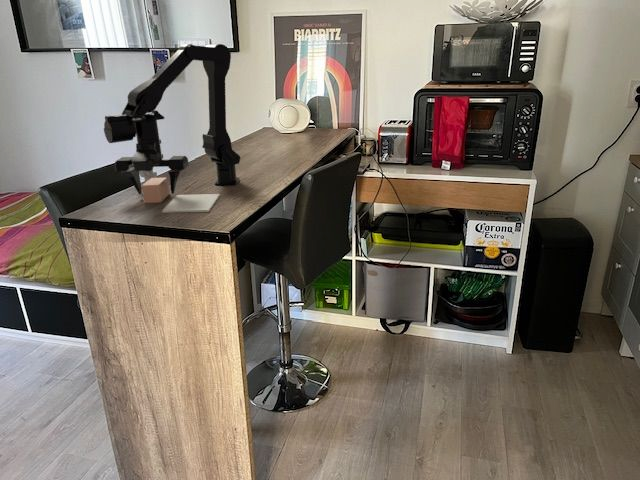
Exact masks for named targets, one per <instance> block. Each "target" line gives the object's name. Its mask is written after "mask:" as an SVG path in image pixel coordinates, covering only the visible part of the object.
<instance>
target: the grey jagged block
mask: <svg viewBox="0 0 640 480" xmlns="http://www.w3.org/2000/svg"><path fill="white" fill-rule="evenodd" d="M139 175H140V178H144V183H146V182H147V181H148V180H149V179H151V178H158V173H157V171H156V170H154V168H153V169H152V170H151V171H139Z"/></svg>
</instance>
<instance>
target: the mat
mask: <svg viewBox="0 0 640 480" xmlns="http://www.w3.org/2000/svg"><path fill="white" fill-rule="evenodd" d="M220 196H221V195H220V193H214V194H213V193H212V194H211V193H206V194H202V193H201V194H199V193H198V194H177V195H176V196H174V198H173V199H172V200H170V202H169V203H168V204H167V205H166V206H165V207H164V208H163V209H162V210H161V213H163V214H164V213H167V214H168V213H170V214H171V213H205V212H206V213H209V212H210V210H212V208H213V206H214V205H215V203H216V202H217V201H218V199H219V198H220Z"/></svg>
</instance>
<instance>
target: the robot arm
mask: <svg viewBox="0 0 640 480" xmlns="http://www.w3.org/2000/svg"><path fill="white" fill-rule="evenodd" d="M231 58H232V54H231V51H230V49H229V48H228V47H227V46H226V45H225V44H222V43H213V44H212V43H210V44H206V45H205V46H203V45H194V44H192V43H190V44H189V43H187V44H185V43H184V44H182V45H180V46H179V47H178V49H177V50H176V52H175V53H174V54H172V55H171V57H170V58H169V59H168V60H167V61H166V62H165V63H164V64H163V65H162V66H161V67H160V68H159V69H158V71H157V72H156V73H155V74H154V75H153V76H152V77H150V78H149V79H147V80H146V81H144V82H142V83H140V84H139V85H137V86H136V87H134V88H133V89H132V90H130V91H129V93H128V94H127V103H126V105H125V107H124V109H123V110H122V112H121V114H117V115H105V116H104V119H105V121H104V126H103V132H104V136H105V139H106V140H107V142H108V143H109V144H114V143H115V144H116V143H122V142H123V143H124V142H129V141H133V140H134V138H136V142H137V143H135V145H136V146H135V148H136V150H135V153H134V154H133V156H122V157H120V158H118V159H116V160H115V162H114V170H115V172H120V174H121V175H125V176H126V177H128V178H129V180H130V181H131V183H132V184H133V186H134V188H135V190H136V192H137V193H138V195H141V194H142V195H143V191H142V183H141V182H142V181H141V176H140V174H139V171H151V170H152V169H153V170H154V168H155V167H156V168H157V167H158V168H159V167H161V168H162V167H164V168H165V167H168V168H169V169H170V170H169V171H168V175H169V184H170V192H171V193H170V194H173V195H174V193H175V191H176V186H177V183H178V179H179V176H180V173H181V172H182V171H183V170H186V168H188V167H189V166H190V165H189V163H190V162H189V158H188V157H187V156H186V155H173V156H172V157H170V158H169V159H164V154H163V153H162V147H161V144H162V139H160V133H159V127H158V120H159V121H160V120H164V119H165V116H164V115H162V114H160V112H159V111H158V110H156V108H157V107H158V105H159V104H160V103H161V101H162V99H163V96H164V93H165V91H166V90H167V89H168V88H169V86H171V84H172V83H173V82H174V81H175V80H177V78H178V77H179V75H181V74H182V72H183V71H184V70H185V69H186V68H187V67H188V66H189V65H190V64H191V63H192V62H193V61H199V62H201V61H202V66H203V69H204V71H205V73H206V76H207V85H208V86H207V87H208V117H209V118H208V121H209V125H208V126H209V127H208V131H207V134H204V133H203V134H202V142H203V143H202V148H203V149H204V152H205V154H206V155H207V156H208V157H209V158H210V160H211V162H213V163H215V166H216V176H217V180H216V181H215V182H214V185H215V186H221V185H222V186H227V185H228V186H229V185H230V186H233V185H237V184H238V183H239V180H240V177H237V169H236V165H238V164H240V161H241V156H240V154H238V153H237V152H235V150H233V146H232V145H233V144H232V140H231V137H230V135H229V132H228V130H227V112H226V111H227V108H226V106H227V104H226V101H227V100H226V77H227V75H228V72H229V70H230V67H231Z"/></svg>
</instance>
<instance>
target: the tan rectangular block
mask: <svg viewBox="0 0 640 480" xmlns="http://www.w3.org/2000/svg"><path fill="white" fill-rule="evenodd" d="M168 181H169V180H168V177H157V178H151V179H149V180H148V181H147V182H146V183H145V182H144V183H142V184H141V188H142V195H143V196H142V197H143V202H144V203H146V204H148V203H152V204H153V203H162V202H163V201H164V200H165V199H166V198H167V197H168V196H169V195H170V188H169V182H168Z"/></svg>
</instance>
